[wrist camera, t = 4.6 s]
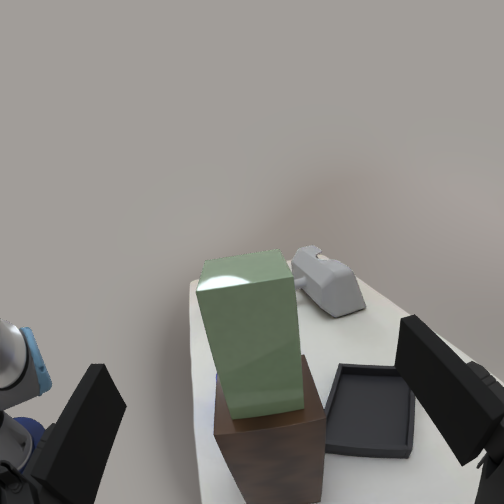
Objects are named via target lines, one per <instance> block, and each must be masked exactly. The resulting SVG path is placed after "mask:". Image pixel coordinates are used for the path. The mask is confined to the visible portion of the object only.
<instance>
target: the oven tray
mask: <svg viewBox="0 0 504 504" xmlns="http://www.w3.org/2000/svg"><path fill="white" fill-rule="evenodd" d="M324 412H325V415H326V440H325V452H326V453H333V454H341V455H351V456H362V457H377V458H408V457H409V455H410V453H411V451H412V447H413V434H414V416H415V395H414V393H413V392H412V390H411V389H410V388H409V386H408V385H407V383H406V382H405V381H404V379H403V378H402V376H401V375H400V374H399V372H398V371H397V369H396V368H395V367H394V366H376V365H356V364H341V363H339V365H338V369H337V372H336V375H335V379H334V382H333V385H332V388H331V391H330V394H329V397H328V400H327V403H326V406H325V409H324Z"/></svg>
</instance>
